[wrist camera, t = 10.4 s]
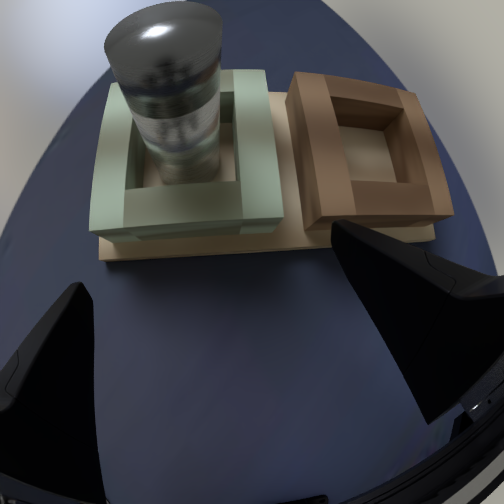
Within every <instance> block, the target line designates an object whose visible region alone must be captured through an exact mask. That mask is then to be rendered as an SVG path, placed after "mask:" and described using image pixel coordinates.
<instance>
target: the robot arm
mask: <svg viewBox="0 0 504 504" xmlns="http://www.w3.org/2000/svg"><path fill="white" fill-rule="evenodd" d="M331 246H332V248H333V250H334V252H335V254H336V256H337V258H338V260H339V262H340V264H341V266H342V268H343V271H344V273H345V275H346V277H347V279H348V280H349V282H350V284H351V285H352V287H353V289H354V290H355V292H356V294H357V295H358V297H359V299H360V300H361V302H362V304H363V305H364V307H365V309H366V310H367V312H368V314H369V315H370V317H371V319H372V320H373V322H374V324H375V326H376V327H377V329H378V331H379V333H380V334H381V336H382V338H383V340H384V341H385V343H386V345H387V347H388V349H389V350H390V352H391V354H392V356H393V358H394V360H395V361H396V363H397V365H398V367H399V369H400V371H401V373H402V375H403V377H404V379H405V381H406V383H407V385H408V386H409V388H410V390H411V392H412V394H413V396H414V398H415V400H416V402H417V404H418V406H419V408H420V411H421V413H422V415H423V417H424V419H425V421H426V423H427V424H428V425H429V424H431V423H432V422H434V421H435V420H437V419H438V418H440V417H441V416H442V415H444V414H445V413H447V412H448V411H449V410H451V409H452V408H453V407H455V406H456V405H457V404H459V403H460V404H461V405H462V407H463V408H464V410H465V411H464V412H463V413H462V414H460V415H459V416H458V417H457V418H455V419H454V424H453V429H452V433H451V437H450V441H449V443H447V444H446V445H445V446H443V447H442V448H441V449H439V450H438V451H436V452H435V453H433V454H432V455H430V456H429V457H427V458H426V459H424V460H423V461H421V462H420V463H418V464H416V465H415V466H413V467H412V468H410V469H408V470H407V471H405V472H403V473H401V474H400V475H398V476H396V477H394V478H392V479H391V480H389V481H387V482H385V483H383V484H381V485H379V486H377V487H375V488H373V489H371V490H369V491H367V492H365V493H362V494H360V495H358V496H356V497H353V498H351V499H349V500H346V501H344V502H341V503H339V504H480V503H481V502H482V501H483V500H485V499H486V498H487V497H488V496H489V495H490V494H491V493H492V492H493V491H494V490H495V489H496V488H497V487H498V486H499V485H500V484H501V483H502V482H503V481H504V275H502V276H490V275H486V274H483V273H480V272H478V271H475V270H472V269H470V268H467V267H464V266H462V265H459V264H456V263H454V262H451V261H449V260H446V259H444V258H441V257H439V256H436V255H434V254H432V253H429V252H427V251H424V250H422V249H420V248H417V247H415V246H413V245H410V244H408V243H405V242H403V241H400V240H398V239H395V238H393V237H390V236H388V235H385V234H383V233H380V232H378V231H375V230H372V229H370V228H367V227H364V226H362V225H359V224H356V223H354V222H351V221H348V220H346V219H338V220H334V221H333V222H332V224H331ZM322 499H323V500H322ZM320 500H321V501H320ZM80 503H84V504H107V501H106V496H105V491H104V486H103V480H102V474H101V468H100V461H99V453H98V446H97V436H96V424H95V407H94V312H93V300H92V298H91V296H90V294H89V293H88V291H87V289H86V288H85V286H84V284H83V283H82V282H76V283H72V284H71V285H70V286H69V287H68V288H67V289H66V290H65V291H64V292H63V293H62V294H61V296H60V297H59V298H58V299H57V300H56V301H55V303H54V304H53V305H52V306H51V307H50V308H49V310H48V311H47V312H46V313H45V314H44V315H43V317H42V318H41V319H40V320H39V322H38V323H37V324H36V325H35V327H34V328H33V329H32V330H31V332H30V333H29V334H28V335H27V337H26V338H25V339H24V341H23V342H22V343H21V345H20V346H19V347H18V350H16V351H15V353H14V354H13V355H12V357H11V358H10V359H9V361H8V362H7V363H6V365H5V366H4V367H3V369H2V370H1V371H0V504H80ZM278 504H328V497H327V496H326V495H319V496H314V497H310V498H305V499H300V500H295V501H290V502H284V503H278Z"/></svg>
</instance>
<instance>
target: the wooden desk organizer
mask: <svg viewBox="0 0 504 504" xmlns="http://www.w3.org/2000/svg"><path fill="white" fill-rule="evenodd" d="M453 215H454V211H453V207H452V202H451V198H450V193H449V189H448V185H447V182H446V178H445V174H444V171H443V167H442V164H441V161H440V157H439V154H438V151H437V148H436V145H435V142H434V139H433V136H432V133H431V131H430V128H429V125H428V123H427V120H426V118H425V115H424V113H423V110H422V108H421V106H420V103H419V101H418V98H417V96H416V94H415V93H411V92H408V91H405V90H401V89H397V88H393V87H389V86H385V85H380V84H376V83H371V82H366V81H361V80H355V79H350V78H344V77H337V76H330V75H323V74H314V73H304V72H295V73H294V76H293V79H292V82H291V85H290V88H289V91H288V93H282V92H268V89H267V83H266V76H265V70H221V76H220V136H219V169H218V172H217V174H216V176H215V178H214V179H213V180H212V181H211V182H207V183H192V184H179V185H167V184H165V182H164V181H163V180H162V178H161V176H160V174H159V172H158V170H157V168H156V166H155V164H154V162H153V160H152V157H151V155H150V153H149V151H148V149H147V147H146V145H145V143H144V141H143V138H142V136H141V134H140V132H139V130H138V128H137V125H136V123H135V121H134V119H133V117H132V114H131V112H130V110H129V108H128V105H127V103H126V101H125V99H124V96H123V94H122V92H121V89H120V87H119V85H118V82H116V83H111V87H110V91H109V95H108V99H107V103H106V107H105V112H104V116H103V121H102V126H101V131H100V136H99V142H98V148H97V154H96V161H95V168H94V175H93V184H92V194H91V205H90V220H89V231H90V232H92V233H94V234H96V235H98V236H99V260H101V261H104V262H109V261H125V260H141V259H157V258H173V257H189V256H205V255H221V254H237V253H253V252H268V251H284V250H300V249H316V248H331V247H332V246H331V224H332V222H333V221H334V220H338V219H346V220H348V221H351V222H354V223H356V224H359V225H362V226H364V227H367V228H370V229H372V230H375V231H378V232H380V233H383V234H385V235H388V236H390V237H393V238H395V239H398V240H400V241H403V242H405V243H410V242H425V241H431V240H434V239H435V233H434V227H433V223H436V222H438V221H441V220H443V219H446V218H448V217H451V216H453Z"/></svg>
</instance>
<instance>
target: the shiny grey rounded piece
mask: <svg viewBox="0 0 504 504" xmlns="http://www.w3.org/2000/svg"><path fill="white" fill-rule="evenodd" d="M221 45H222V18H221V16H220V15H219V14H218V12H216V11H215V10H214V9H212V8H211V7H209V6H206V5H203V4H200V3H195V2H187V1H175V2H166V3H160V4H156V5H153V6H149V7H146V8H144V9H141V10H139V11H137V12H134V13H133V14H131V15H129V16H127V17H126V18H124V19H123V20H122V21H120V22H119V23H118V24H117V25H116V26H115V27H114V28H113V29H112V30H111V31H110V33H109V34H108V36H107V38H106V40H105V43H104V50H105V53H106V56H107V58H108V61H109V63H110V66H111V68H112V70H113V73H114V75H115V78H116V80H117V82H118V85H119V87H120V89H121V92H122V94H123V96H124V99H125V101H126V103H127V105H128V108H129V110H130V112H131V114H132V117H133V119H134V121H135V123H136V125H137V128H138V130H139V132H140V134H141V136H142V138H143V141H144V143H145V145H146V147H147V149H148V151H149V153H150V155H151V157H152V160H153V162H154V164H155V166H156V168H157V170H158V172H159V174H160V176H161V178H162V180H163V181H164V182H165V184H167V185H179V184H192V183H207V182H211V181H212V180H213V179H214V178H215V176H216V174H217V172H218V169H219V136H220V76H221Z"/></svg>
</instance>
